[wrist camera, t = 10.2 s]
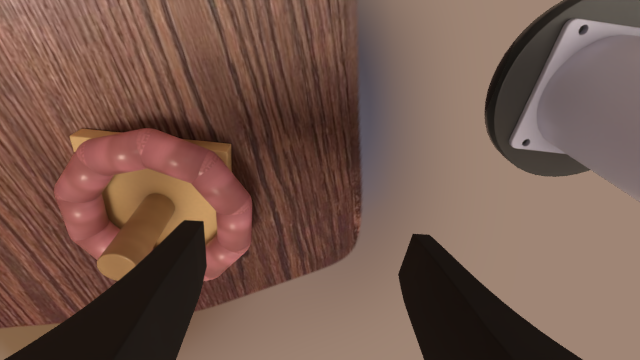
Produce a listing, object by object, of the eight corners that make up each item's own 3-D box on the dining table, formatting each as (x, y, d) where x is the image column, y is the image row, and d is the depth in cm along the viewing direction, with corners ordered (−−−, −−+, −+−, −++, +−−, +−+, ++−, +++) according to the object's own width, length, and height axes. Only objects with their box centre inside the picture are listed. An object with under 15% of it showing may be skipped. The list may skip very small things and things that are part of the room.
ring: (256, 132, 19) (250, 149, 17) (252, 274, 25) (247, 297, 23) (48, 110, 18) (16, 125, 16) (97, 264, 24) (79, 287, 22)
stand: (231, 143, 20) (200, 205, 15) (233, 247, 25) (210, 326, 19) (81, 127, 19) (-14, 187, 14) (111, 239, 24) (50, 318, 18)
